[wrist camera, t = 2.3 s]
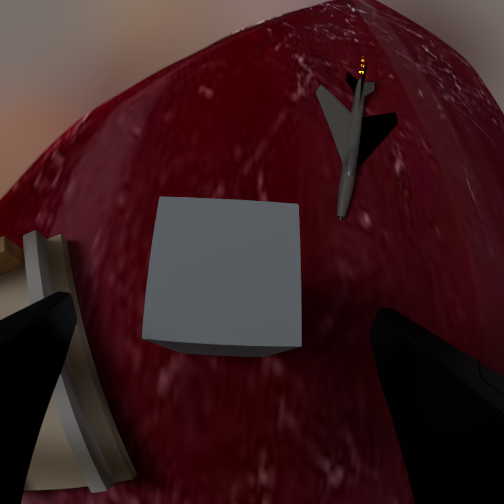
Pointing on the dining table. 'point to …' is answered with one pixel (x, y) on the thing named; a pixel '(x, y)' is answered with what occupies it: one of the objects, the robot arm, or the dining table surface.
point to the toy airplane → (353, 132)
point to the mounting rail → (64, 379)
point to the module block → (224, 277)
